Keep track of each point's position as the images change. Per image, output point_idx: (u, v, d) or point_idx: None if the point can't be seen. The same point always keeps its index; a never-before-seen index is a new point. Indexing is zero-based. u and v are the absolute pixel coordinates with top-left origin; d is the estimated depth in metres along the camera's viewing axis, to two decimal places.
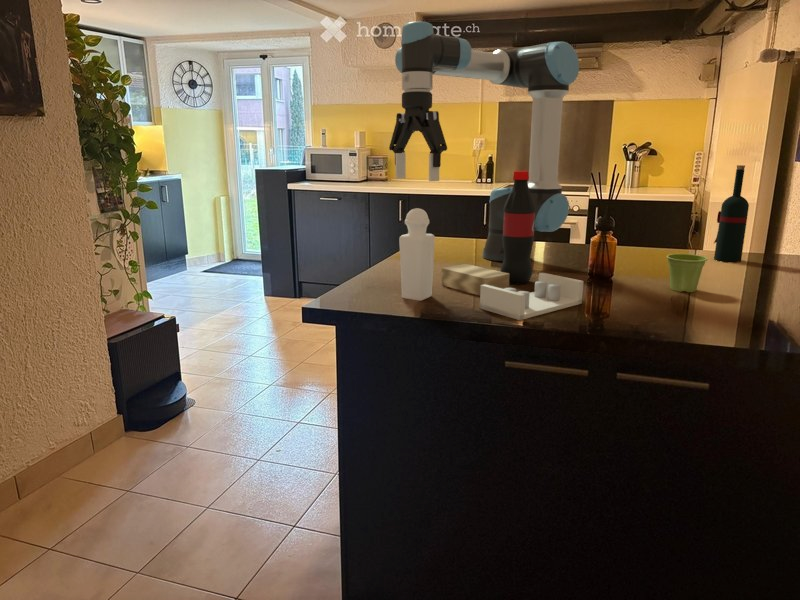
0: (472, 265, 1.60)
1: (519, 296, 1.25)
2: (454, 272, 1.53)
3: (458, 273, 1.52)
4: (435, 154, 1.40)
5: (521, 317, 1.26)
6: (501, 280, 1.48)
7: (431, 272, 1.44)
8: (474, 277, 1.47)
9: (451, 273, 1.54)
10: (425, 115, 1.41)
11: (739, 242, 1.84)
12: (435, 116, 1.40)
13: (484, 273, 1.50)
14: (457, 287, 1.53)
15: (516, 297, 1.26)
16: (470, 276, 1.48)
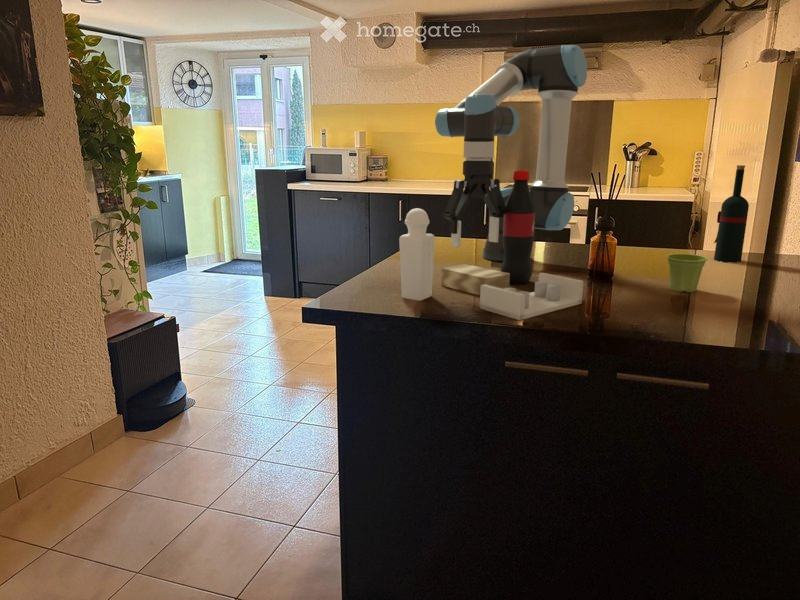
0: (471, 265, 1.60)
1: (519, 296, 1.25)
2: (454, 272, 1.53)
3: (458, 273, 1.51)
4: None
5: (521, 317, 1.26)
6: (502, 280, 1.49)
7: (431, 272, 1.44)
8: (475, 277, 1.47)
9: (451, 273, 1.54)
10: None
11: (739, 242, 1.84)
12: (457, 185, 1.43)
13: (485, 273, 1.50)
14: (457, 287, 1.53)
15: (516, 297, 1.26)
16: (471, 276, 1.48)
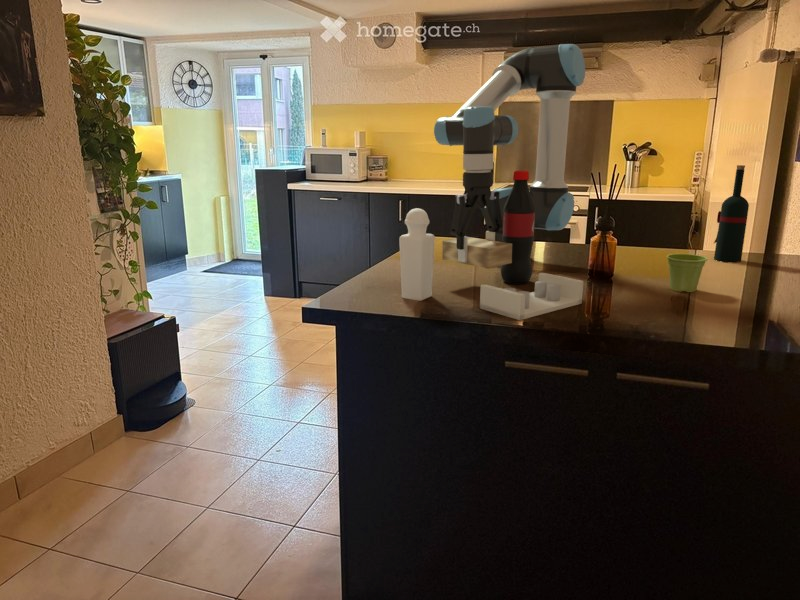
0: None
1: (519, 296, 1.25)
2: (456, 244, 1.51)
3: None
4: None
5: (521, 317, 1.26)
6: (504, 250, 1.47)
7: (431, 272, 1.44)
8: (478, 248, 1.46)
9: (453, 245, 1.52)
10: None
11: (739, 242, 1.84)
12: (458, 201, 1.44)
13: (487, 244, 1.49)
14: None
15: (516, 297, 1.26)
16: (474, 247, 1.47)
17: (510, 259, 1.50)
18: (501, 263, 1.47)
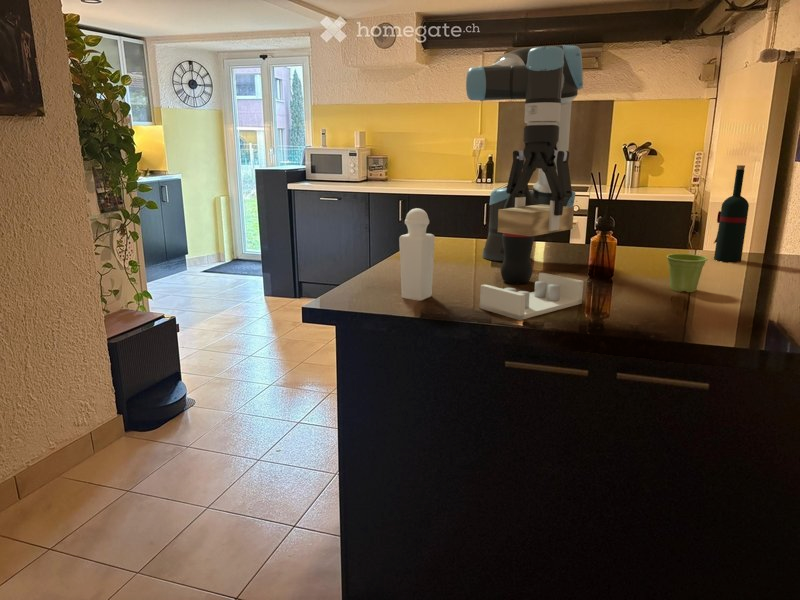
0: None
1: (519, 296, 1.25)
2: (545, 212, 1.26)
3: None
4: (558, 201, 1.25)
5: (521, 317, 1.26)
6: None
7: (431, 272, 1.44)
8: (565, 209, 1.31)
9: (542, 214, 1.25)
10: (553, 153, 1.24)
11: (739, 242, 1.84)
12: (565, 157, 1.23)
13: (548, 207, 1.33)
14: None
15: (516, 297, 1.26)
16: None
17: None
18: None
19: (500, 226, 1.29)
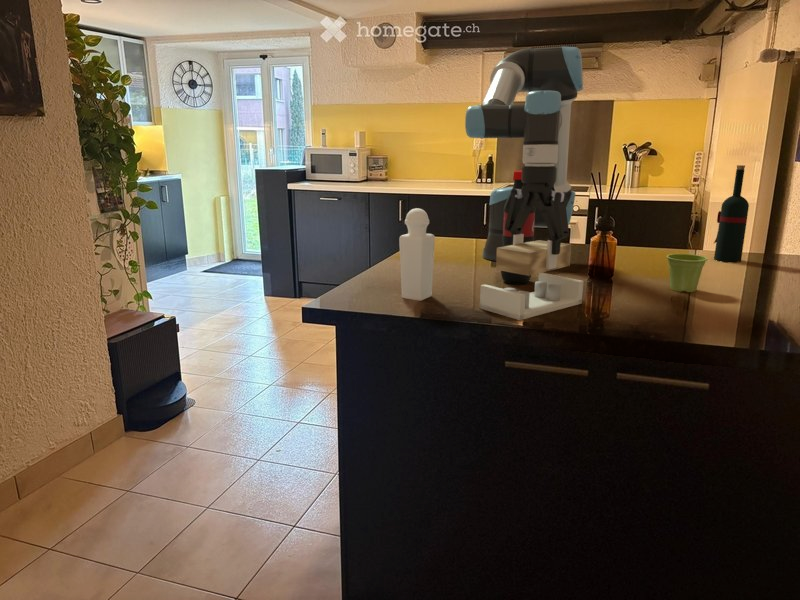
0: (504, 246, 1.33)
1: (519, 296, 1.25)
2: (543, 251, 1.28)
3: None
4: (555, 241, 1.28)
5: (521, 317, 1.26)
6: None
7: (431, 272, 1.44)
8: (562, 247, 1.33)
9: (540, 254, 1.27)
10: (550, 193, 1.27)
11: (739, 242, 1.84)
12: (562, 198, 1.25)
13: (545, 244, 1.35)
14: (545, 267, 1.30)
15: (516, 297, 1.26)
16: None
17: None
18: None
19: (498, 264, 1.32)
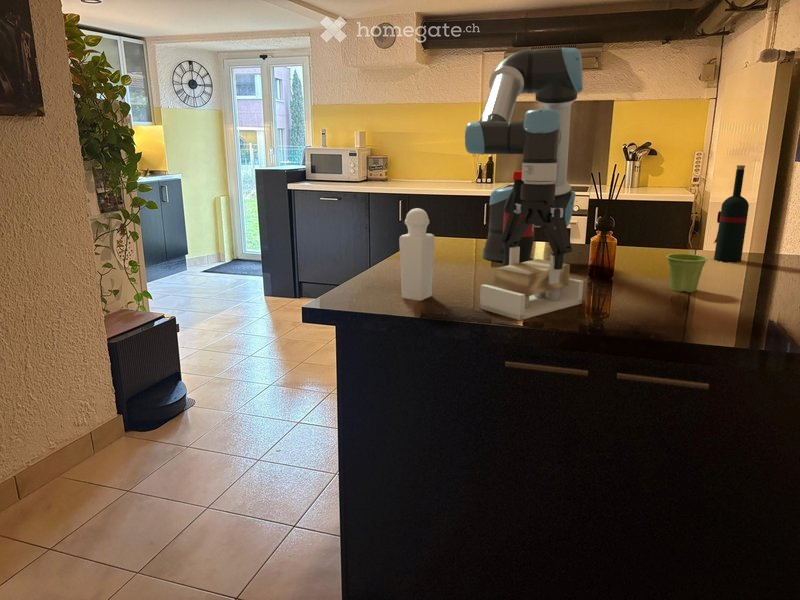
0: (504, 266, 1.34)
1: (519, 296, 1.25)
2: (542, 272, 1.30)
3: (546, 271, 1.30)
4: (558, 256, 1.28)
5: (521, 317, 1.26)
6: None
7: (431, 272, 1.44)
8: None
9: (538, 275, 1.29)
10: (549, 210, 1.28)
11: (739, 242, 1.84)
12: (562, 214, 1.26)
13: (544, 264, 1.37)
14: (544, 288, 1.31)
15: (516, 297, 1.26)
16: None
17: None
18: None
19: (497, 284, 1.33)
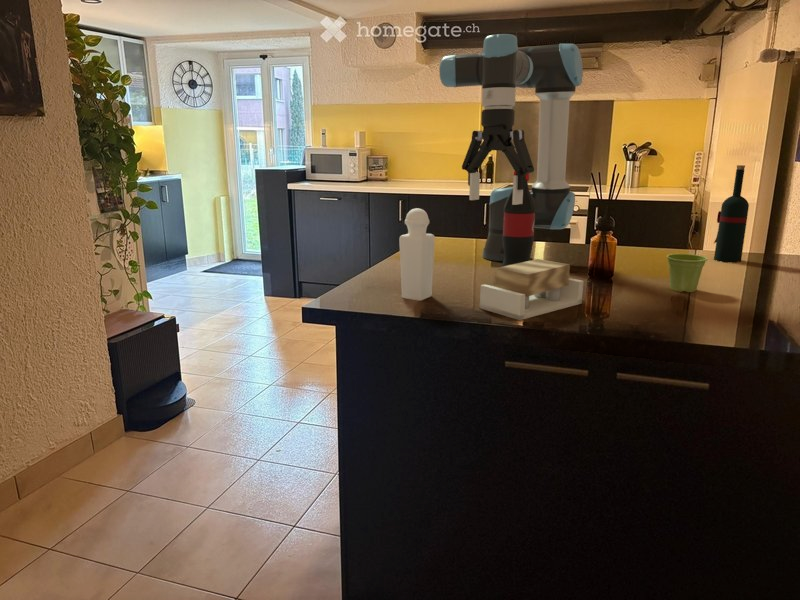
0: (504, 266, 1.34)
1: (519, 296, 1.25)
2: (542, 272, 1.30)
3: (546, 271, 1.30)
4: (520, 176, 1.31)
5: (521, 317, 1.26)
6: None
7: (431, 272, 1.44)
8: (561, 268, 1.34)
9: (538, 275, 1.29)
10: (509, 134, 1.32)
11: (739, 242, 1.84)
12: (521, 135, 1.30)
13: (544, 264, 1.37)
14: (544, 288, 1.31)
15: (516, 297, 1.26)
16: (557, 268, 1.33)
17: None
18: None
19: (497, 284, 1.33)
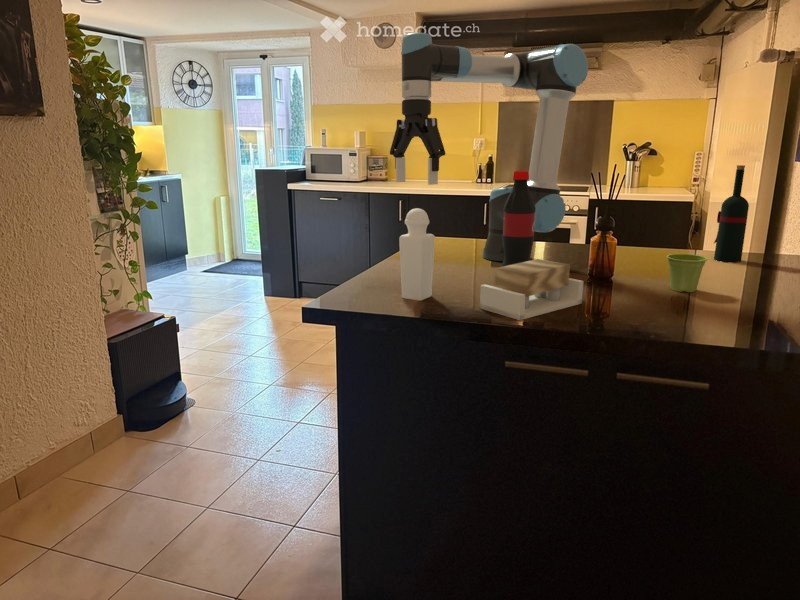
0: (504, 266, 1.34)
1: (519, 296, 1.25)
2: (542, 272, 1.30)
3: (546, 271, 1.30)
4: (434, 159, 1.47)
5: (521, 317, 1.26)
6: None
7: (431, 272, 1.44)
8: (561, 268, 1.34)
9: (538, 275, 1.29)
10: (424, 122, 1.48)
11: (739, 242, 1.84)
12: (434, 123, 1.46)
13: (544, 264, 1.37)
14: (544, 288, 1.31)
15: (516, 297, 1.26)
16: (557, 268, 1.33)
17: None
18: None
19: (497, 284, 1.33)
